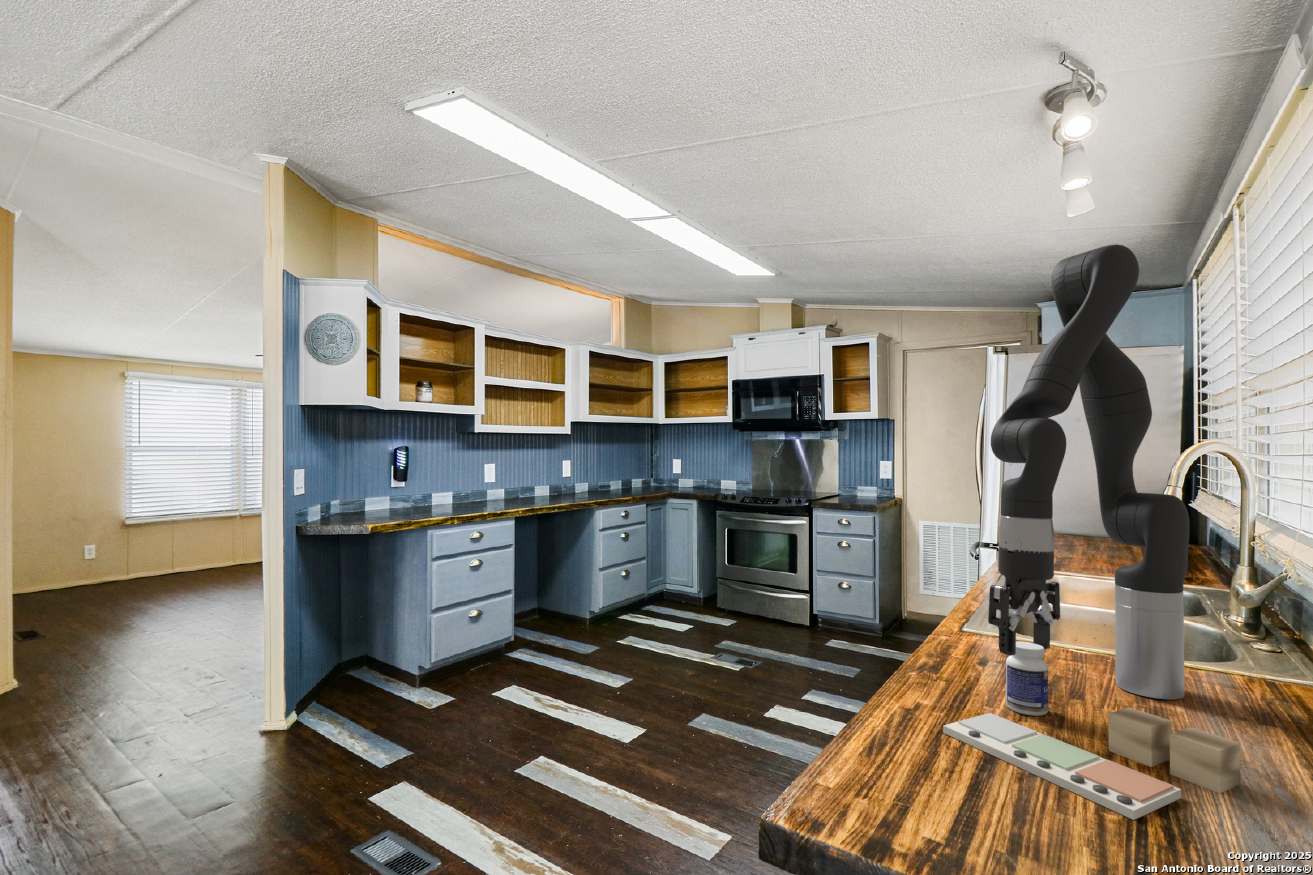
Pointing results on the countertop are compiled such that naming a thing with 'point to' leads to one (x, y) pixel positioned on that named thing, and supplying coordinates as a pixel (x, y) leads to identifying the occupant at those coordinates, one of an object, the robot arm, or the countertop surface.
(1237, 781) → the maple block
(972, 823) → the countertop surface
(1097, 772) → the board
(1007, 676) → the pill bottle
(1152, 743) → the maple block
